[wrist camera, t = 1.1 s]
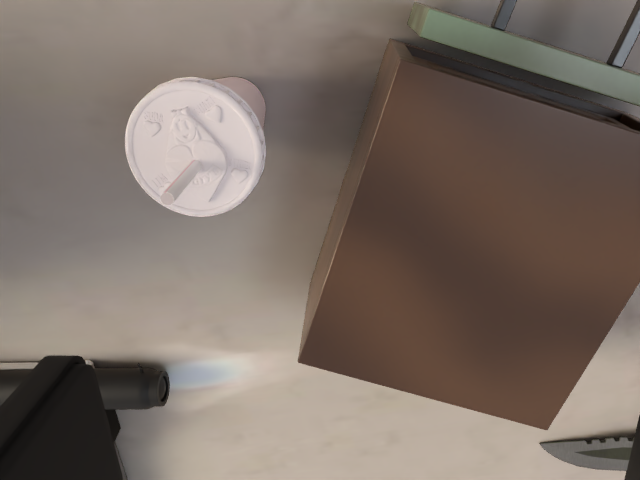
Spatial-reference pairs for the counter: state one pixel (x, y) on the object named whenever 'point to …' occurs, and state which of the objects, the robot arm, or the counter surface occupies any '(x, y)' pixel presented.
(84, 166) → the counter surface
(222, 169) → the smoothie
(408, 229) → the cabinet
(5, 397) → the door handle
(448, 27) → the drawer
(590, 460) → the knife
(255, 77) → the counter surface
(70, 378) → the robot arm
